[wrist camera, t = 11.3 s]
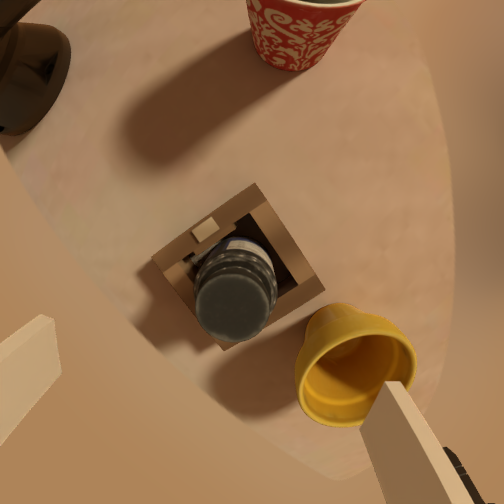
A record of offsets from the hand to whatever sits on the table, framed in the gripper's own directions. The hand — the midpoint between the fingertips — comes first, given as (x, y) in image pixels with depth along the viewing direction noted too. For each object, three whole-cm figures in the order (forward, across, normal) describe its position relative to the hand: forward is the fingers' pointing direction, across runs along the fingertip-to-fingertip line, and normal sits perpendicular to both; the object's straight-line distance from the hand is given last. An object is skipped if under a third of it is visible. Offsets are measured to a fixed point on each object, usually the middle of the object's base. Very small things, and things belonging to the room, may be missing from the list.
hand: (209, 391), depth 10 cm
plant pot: (+19, +11, -6) cm, 23 cm away
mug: (+20, +2, +24) cm, 31 cm away
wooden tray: (+19, 0, 0) cm, 19 cm away
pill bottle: (+20, 0, -1) cm, 20 cm away
